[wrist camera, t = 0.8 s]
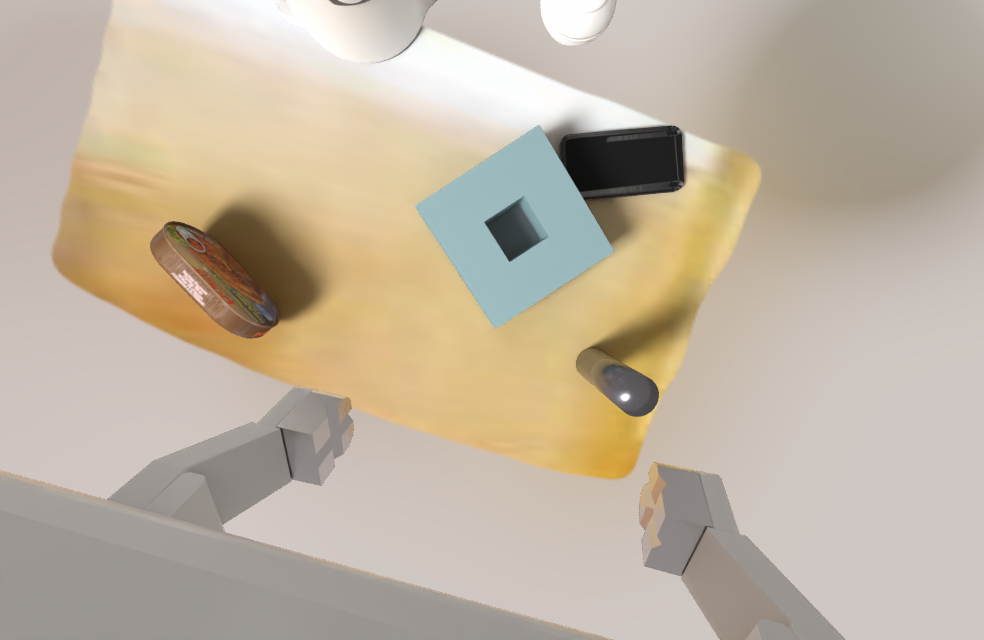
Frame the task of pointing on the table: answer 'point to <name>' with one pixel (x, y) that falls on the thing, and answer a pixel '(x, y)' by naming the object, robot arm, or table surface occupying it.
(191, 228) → the tin
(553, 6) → the spinning top
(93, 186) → the table surface
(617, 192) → the phone
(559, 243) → the hole block
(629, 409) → the pin
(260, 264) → the table surface
